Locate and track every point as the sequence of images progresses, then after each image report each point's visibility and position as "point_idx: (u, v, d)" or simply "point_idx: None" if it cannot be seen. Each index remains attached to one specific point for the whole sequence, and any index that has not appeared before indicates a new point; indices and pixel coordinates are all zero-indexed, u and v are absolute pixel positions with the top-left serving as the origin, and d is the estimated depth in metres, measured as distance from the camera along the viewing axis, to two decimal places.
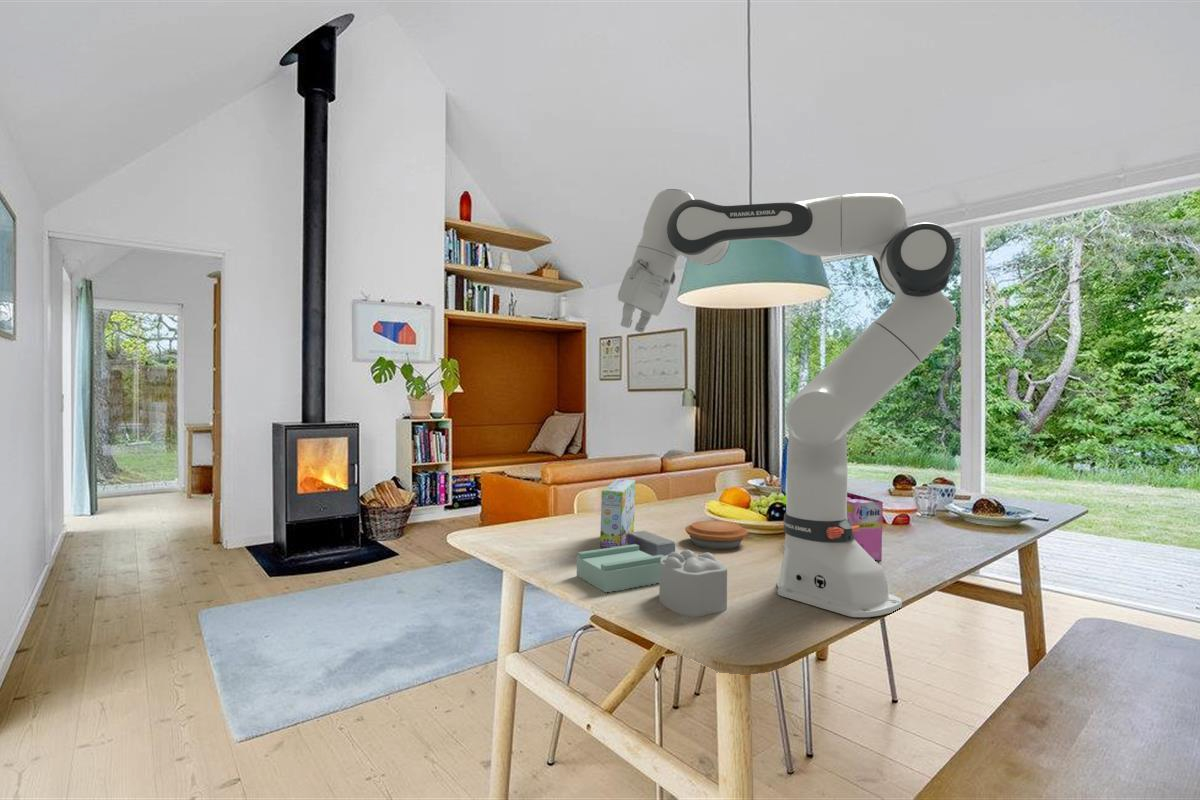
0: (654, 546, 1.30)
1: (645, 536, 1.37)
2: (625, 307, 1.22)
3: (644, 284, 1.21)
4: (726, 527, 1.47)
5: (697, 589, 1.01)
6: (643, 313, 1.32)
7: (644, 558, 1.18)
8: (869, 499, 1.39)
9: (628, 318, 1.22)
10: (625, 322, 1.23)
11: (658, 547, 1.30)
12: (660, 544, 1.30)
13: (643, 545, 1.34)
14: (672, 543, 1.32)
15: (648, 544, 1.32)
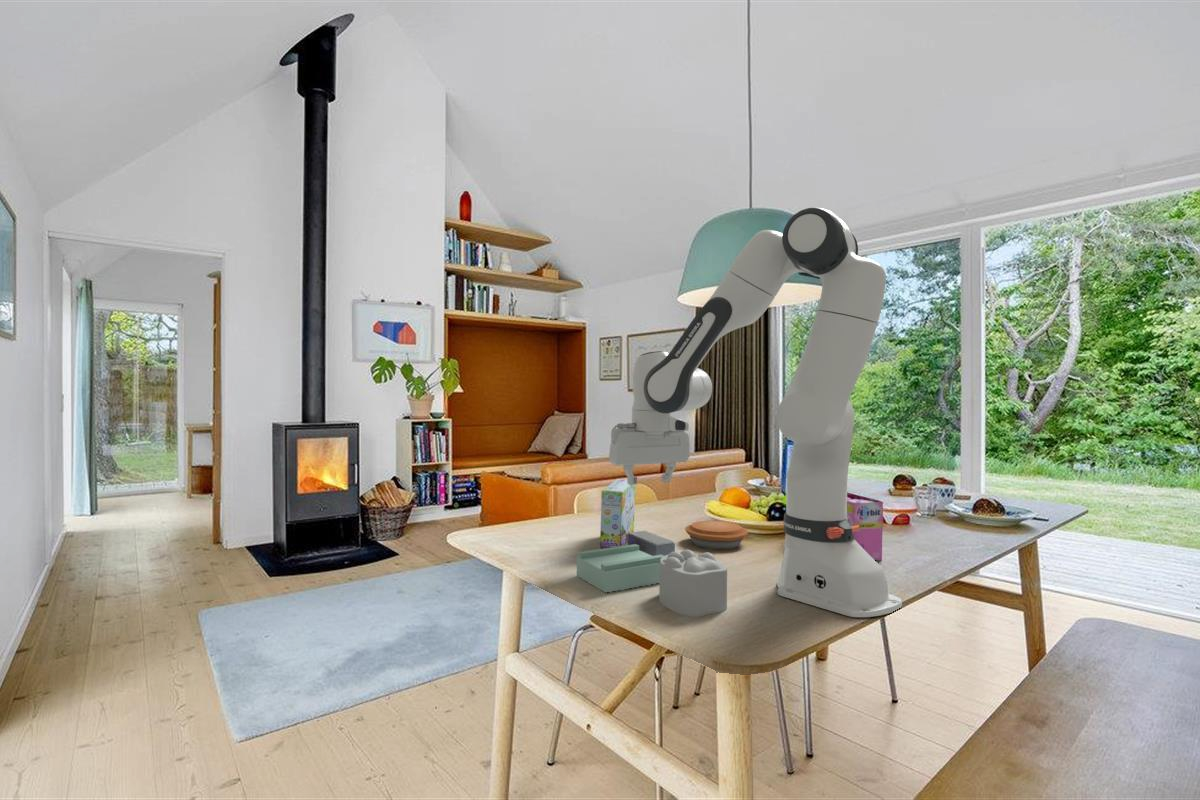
0: (653, 546, 1.30)
1: (645, 536, 1.37)
2: (624, 467, 1.33)
3: (632, 443, 1.32)
4: (726, 527, 1.47)
5: (697, 589, 1.01)
6: (667, 464, 1.39)
7: (644, 558, 1.18)
8: (869, 499, 1.39)
9: (630, 476, 1.33)
10: (629, 480, 1.33)
11: (657, 547, 1.30)
12: (659, 544, 1.30)
13: (642, 545, 1.34)
14: (672, 543, 1.32)
15: (648, 544, 1.32)
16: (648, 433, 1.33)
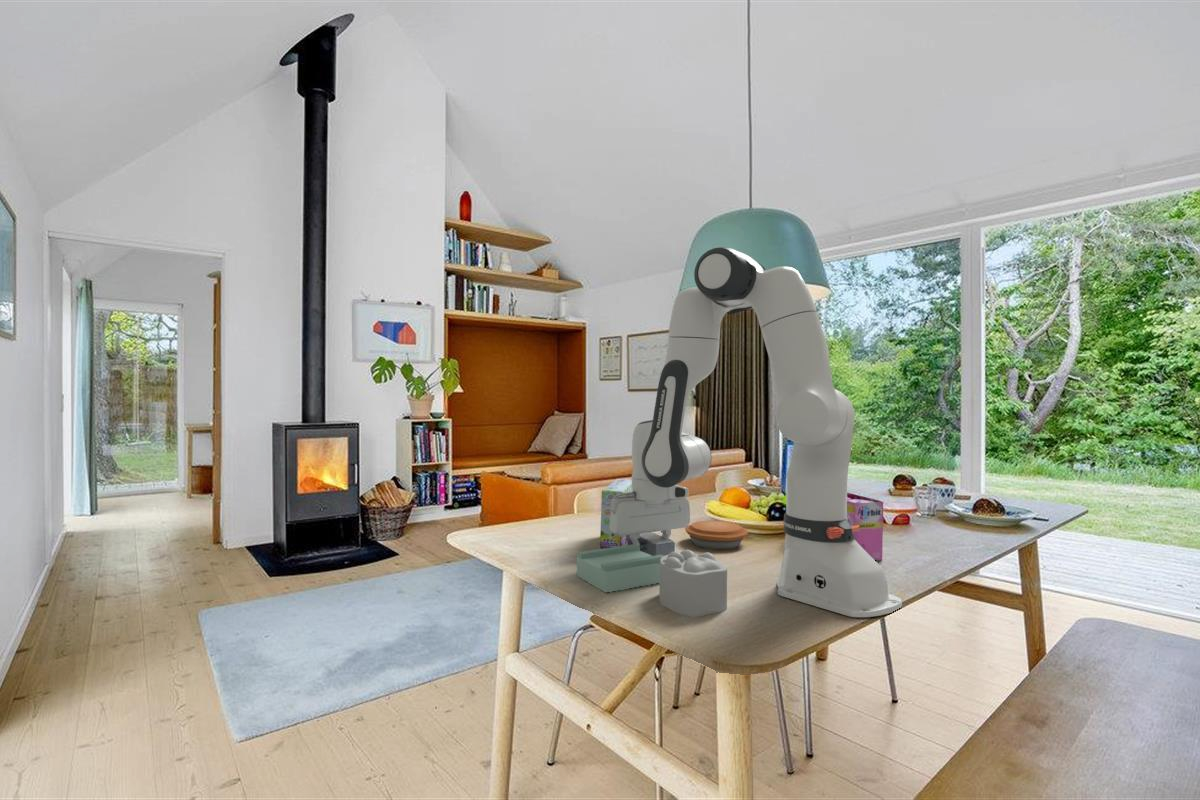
0: (653, 545, 1.30)
1: (645, 535, 1.37)
2: (630, 536, 1.34)
3: (632, 513, 1.32)
4: (726, 527, 1.47)
5: (697, 589, 1.01)
6: (662, 530, 1.38)
7: (644, 558, 1.18)
8: (869, 499, 1.40)
9: None
10: None
11: (657, 546, 1.30)
12: (659, 543, 1.30)
13: (642, 544, 1.34)
14: (671, 542, 1.32)
15: (647, 543, 1.32)
16: (648, 502, 1.33)
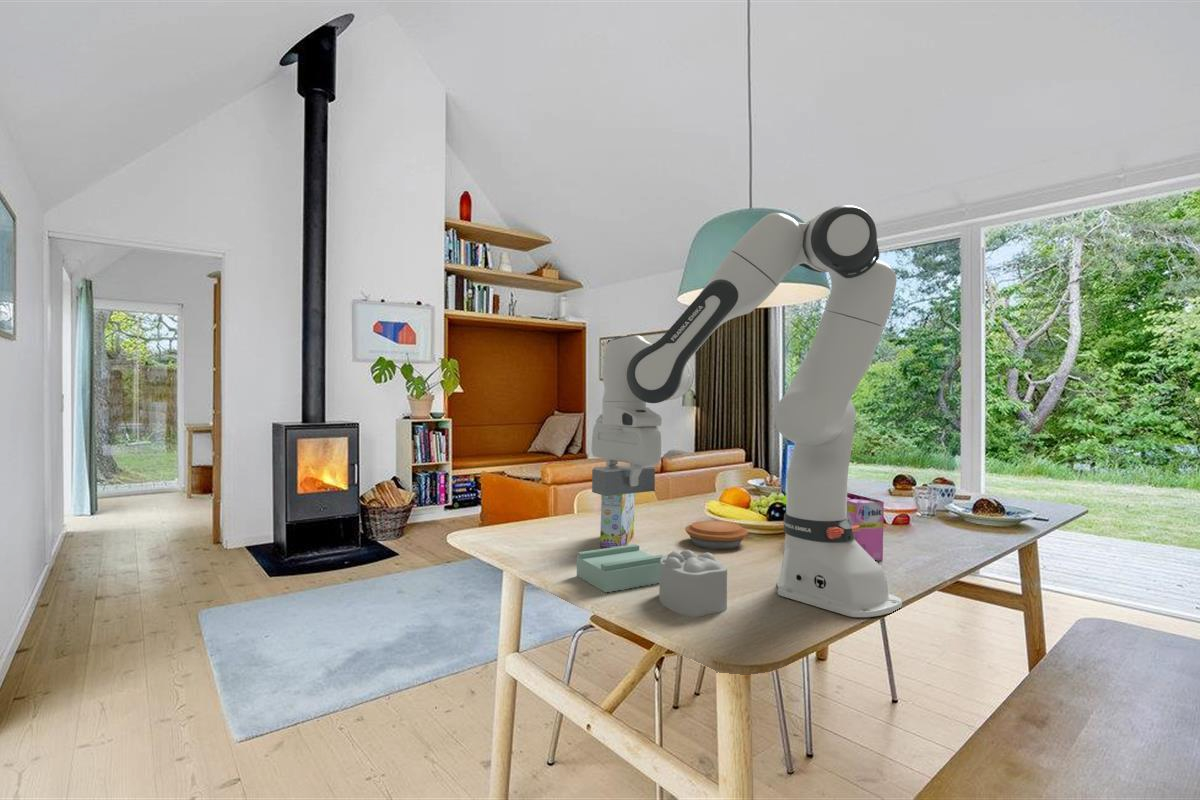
0: None
1: (625, 466, 1.22)
2: None
3: (602, 435, 1.25)
4: (726, 527, 1.47)
5: (697, 589, 1.01)
6: None
7: (644, 558, 1.18)
8: (869, 499, 1.40)
9: None
10: None
11: (593, 471, 1.20)
12: (596, 469, 1.19)
13: None
14: (604, 471, 1.17)
15: None
16: None
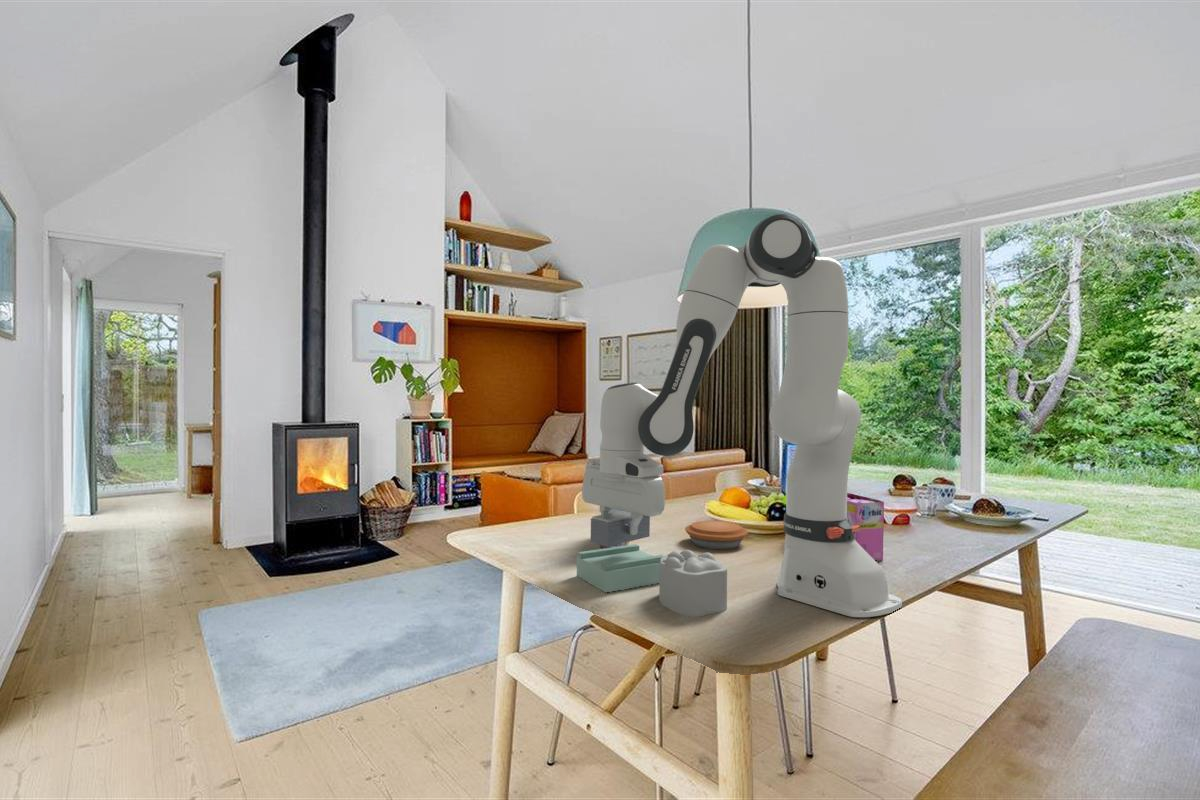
0: None
1: (621, 513, 1.22)
2: None
3: (595, 482, 1.23)
4: (726, 527, 1.47)
5: (697, 589, 1.01)
6: None
7: (644, 558, 1.18)
8: (869, 499, 1.40)
9: None
10: None
11: (592, 520, 1.18)
12: (595, 518, 1.17)
13: None
14: (606, 522, 1.15)
15: None
16: (605, 473, 1.20)
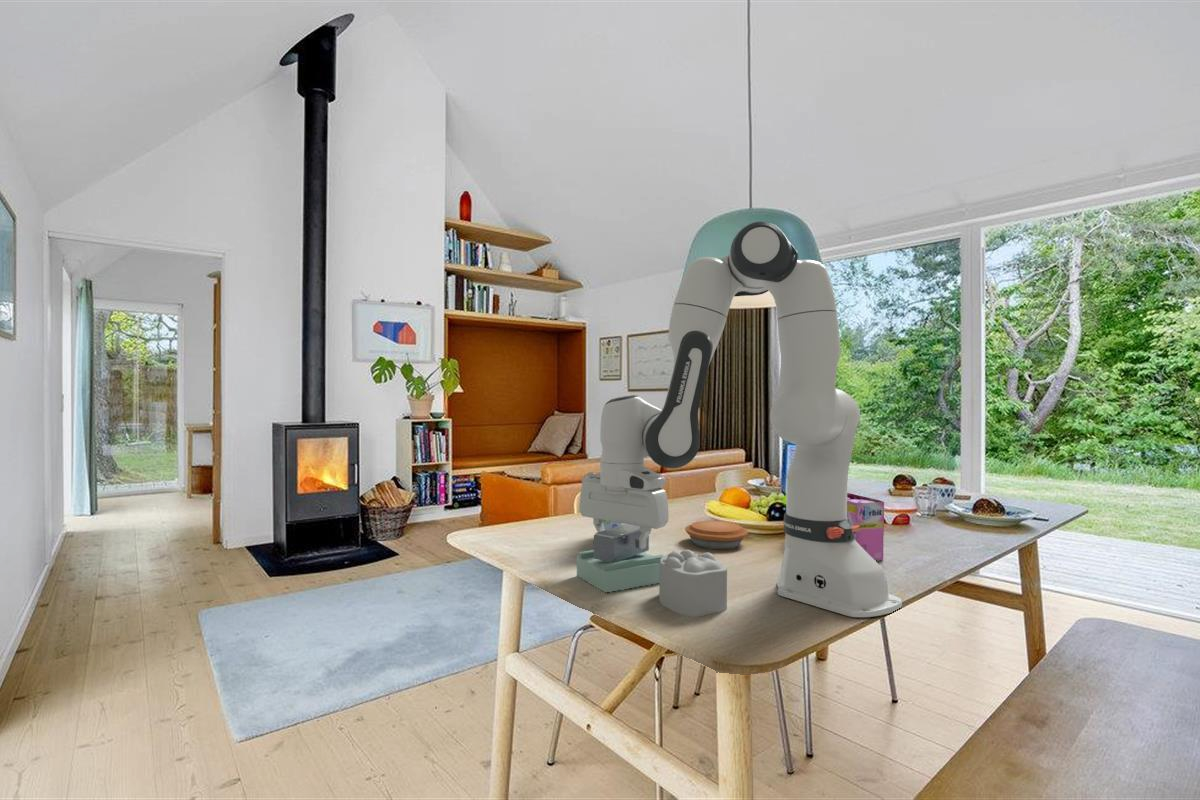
0: None
1: (622, 528, 1.22)
2: None
3: (594, 495, 1.23)
4: (726, 527, 1.47)
5: (697, 589, 1.01)
6: None
7: (644, 558, 1.18)
8: (869, 499, 1.40)
9: None
10: None
11: (595, 537, 1.17)
12: (598, 534, 1.17)
13: None
14: (611, 538, 1.15)
15: None
16: (606, 486, 1.20)
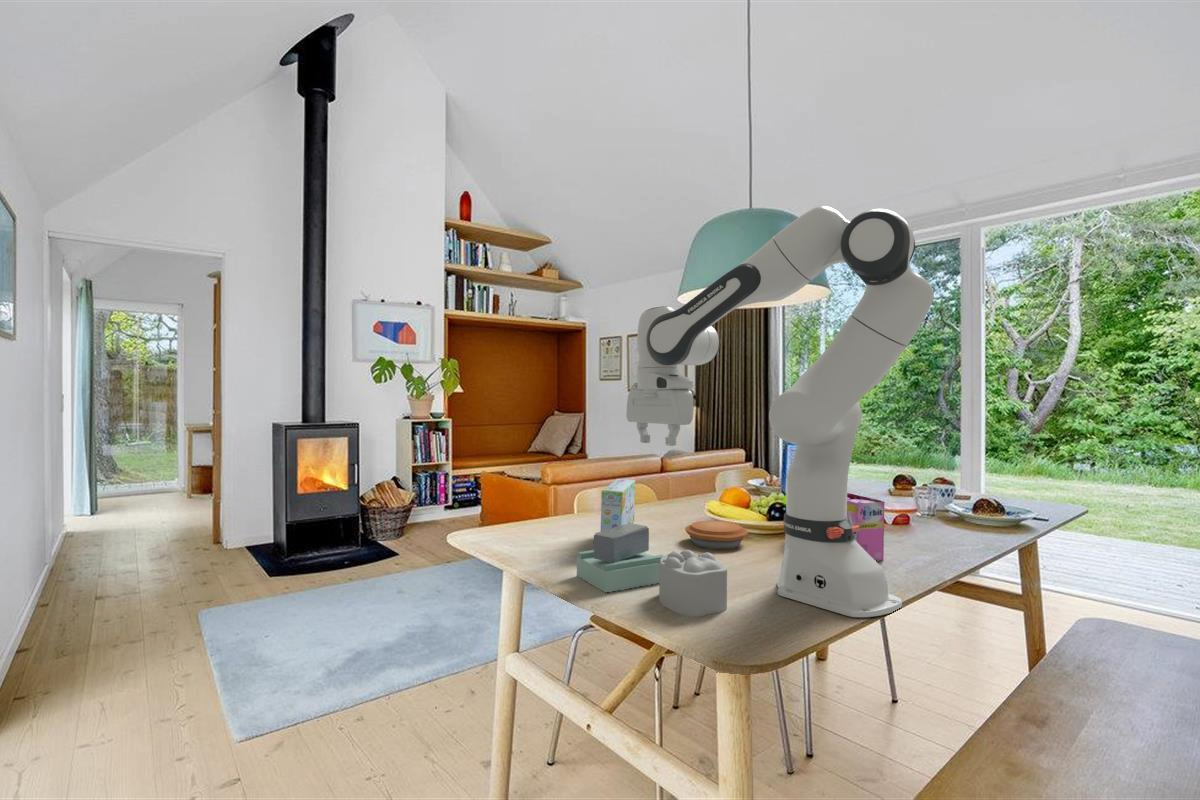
0: None
1: (622, 528, 1.22)
2: None
3: (636, 401, 1.36)
4: (726, 527, 1.47)
5: (697, 589, 1.01)
6: None
7: (644, 558, 1.18)
8: (870, 499, 1.40)
9: None
10: None
11: (595, 537, 1.17)
12: (598, 534, 1.17)
13: None
14: (611, 538, 1.15)
15: None
16: None
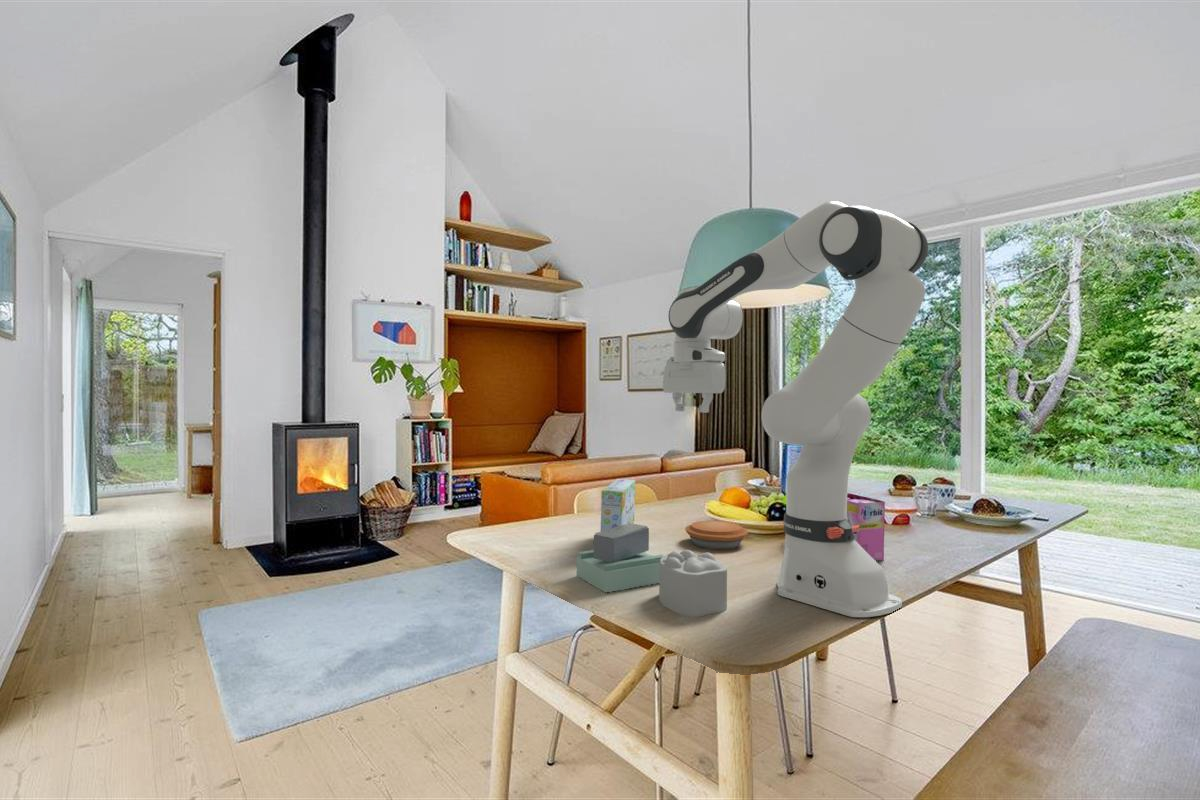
0: None
1: (622, 528, 1.22)
2: None
3: (672, 373, 1.49)
4: (726, 527, 1.47)
5: (697, 589, 1.01)
6: None
7: (644, 558, 1.18)
8: (870, 499, 1.40)
9: None
10: None
11: (595, 537, 1.17)
12: (598, 534, 1.17)
13: None
14: (611, 538, 1.15)
15: None
16: (679, 364, 1.46)
